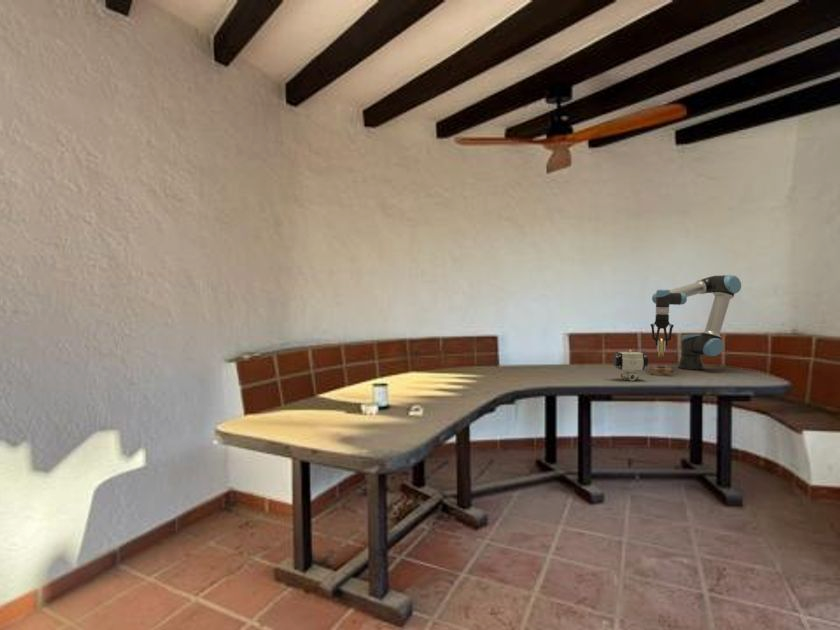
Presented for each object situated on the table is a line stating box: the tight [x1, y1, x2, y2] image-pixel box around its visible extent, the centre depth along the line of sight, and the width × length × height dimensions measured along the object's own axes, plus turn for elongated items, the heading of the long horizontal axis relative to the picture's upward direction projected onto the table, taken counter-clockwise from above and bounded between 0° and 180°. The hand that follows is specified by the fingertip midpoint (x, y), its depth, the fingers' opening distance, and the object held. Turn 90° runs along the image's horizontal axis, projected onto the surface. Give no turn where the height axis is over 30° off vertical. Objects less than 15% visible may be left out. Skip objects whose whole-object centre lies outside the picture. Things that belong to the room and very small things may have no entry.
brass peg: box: [657, 337, 665, 359], centre depth 303 cm, size 3×3×12 cm
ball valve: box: [612, 349, 649, 382], centre depth 281 cm, size 18×8×18 cm, turn 86°
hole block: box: [648, 364, 674, 377], centre depth 304 cm, size 12×16×4 cm
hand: (661, 350), depth 303 cm, fingers closed on brass peg, 3 cm apart
